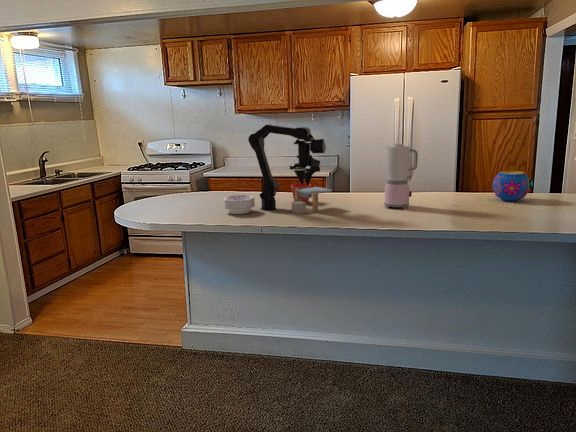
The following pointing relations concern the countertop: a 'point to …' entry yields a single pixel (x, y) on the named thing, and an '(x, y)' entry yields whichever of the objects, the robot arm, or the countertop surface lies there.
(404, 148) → the blender
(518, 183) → the ceramic pot
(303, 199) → the flower pot
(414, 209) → the countertop surface
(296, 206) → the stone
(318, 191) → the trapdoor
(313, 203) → the frame
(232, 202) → the paper bowls
